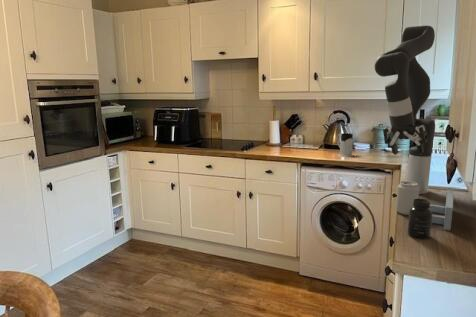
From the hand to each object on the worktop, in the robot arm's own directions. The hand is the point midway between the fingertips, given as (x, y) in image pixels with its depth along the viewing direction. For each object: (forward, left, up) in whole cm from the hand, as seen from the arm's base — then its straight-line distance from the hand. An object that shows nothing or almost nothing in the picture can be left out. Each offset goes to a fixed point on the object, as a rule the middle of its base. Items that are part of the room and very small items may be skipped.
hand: (407, 153), depth 132 cm
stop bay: (-7, +12, -24) cm, 28 cm away
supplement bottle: (+14, +7, -25) cm, 29 cm away
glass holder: (-112, -50, -25) cm, 126 cm away
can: (-7, +1, -25) cm, 26 cm away
